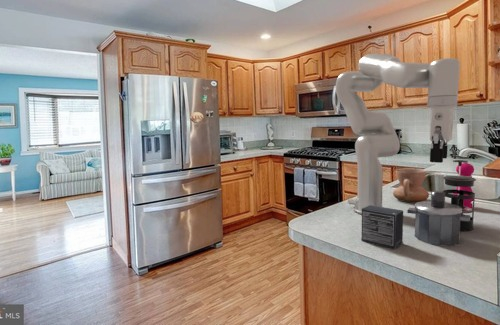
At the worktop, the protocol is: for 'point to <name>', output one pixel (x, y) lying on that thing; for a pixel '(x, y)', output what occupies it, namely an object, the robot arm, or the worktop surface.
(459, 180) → the french press
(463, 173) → the pepper mill
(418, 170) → the ceramic jug
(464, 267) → the worktop surface
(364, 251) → the worktop surface
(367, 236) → the small box
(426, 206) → the lid
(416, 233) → the pot
